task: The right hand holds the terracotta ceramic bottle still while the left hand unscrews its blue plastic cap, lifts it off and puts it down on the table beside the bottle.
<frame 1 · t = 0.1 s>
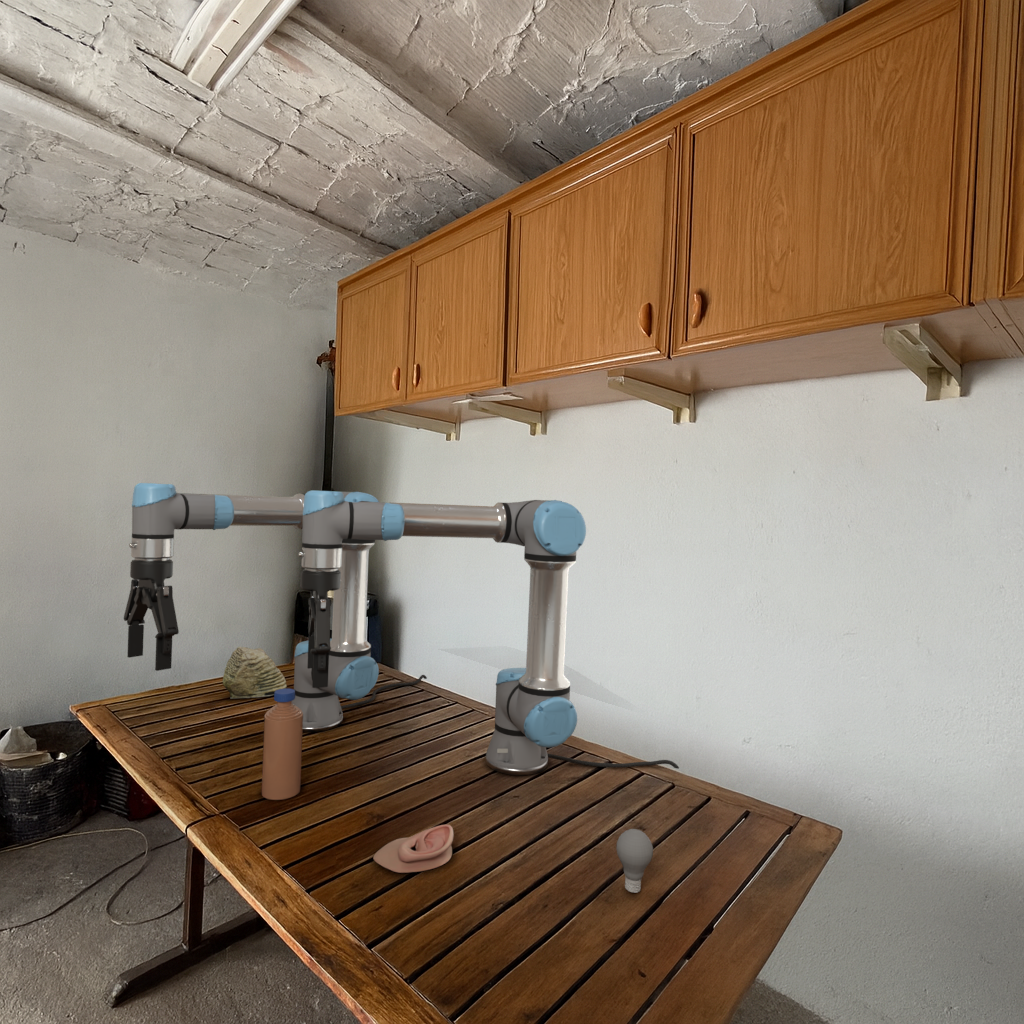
left hand: (148, 662, 129), 28 cm above the table, tool pointing down, fingers open, 13 cm apart
right hand: (317, 677, 124), 28 cm above the table, tool pointing down, fingers open, 13 cm apart
cap: (284, 692, 135), point 21 cm above the table, screwed on, not yet turned
bottle: (281, 791, 135), on the table
light bulb: (632, 891, 106), on the table
fossil: (254, 694, 198), on the table
anatomical model: (413, 856, 113), on the table
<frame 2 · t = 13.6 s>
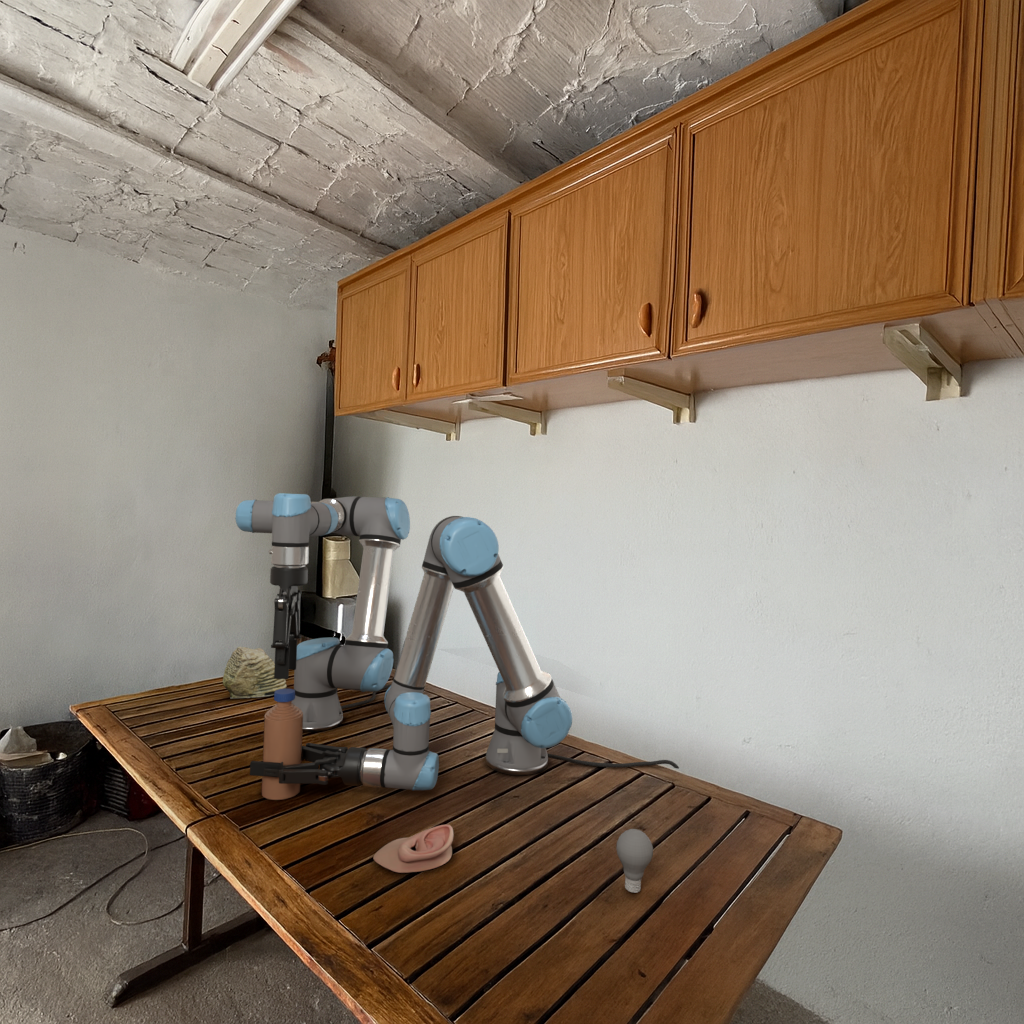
left hand: (285, 673, 135), 25 cm above the table, tool pointing down, fingers open, 6 cm apart
right hand: (260, 759, 136), 7 cm above the table, tool horizontal, fingers closed on bottle, 8 cm apart
bottle: (281, 791, 135), on the table, touching right hand
everything else where it was.
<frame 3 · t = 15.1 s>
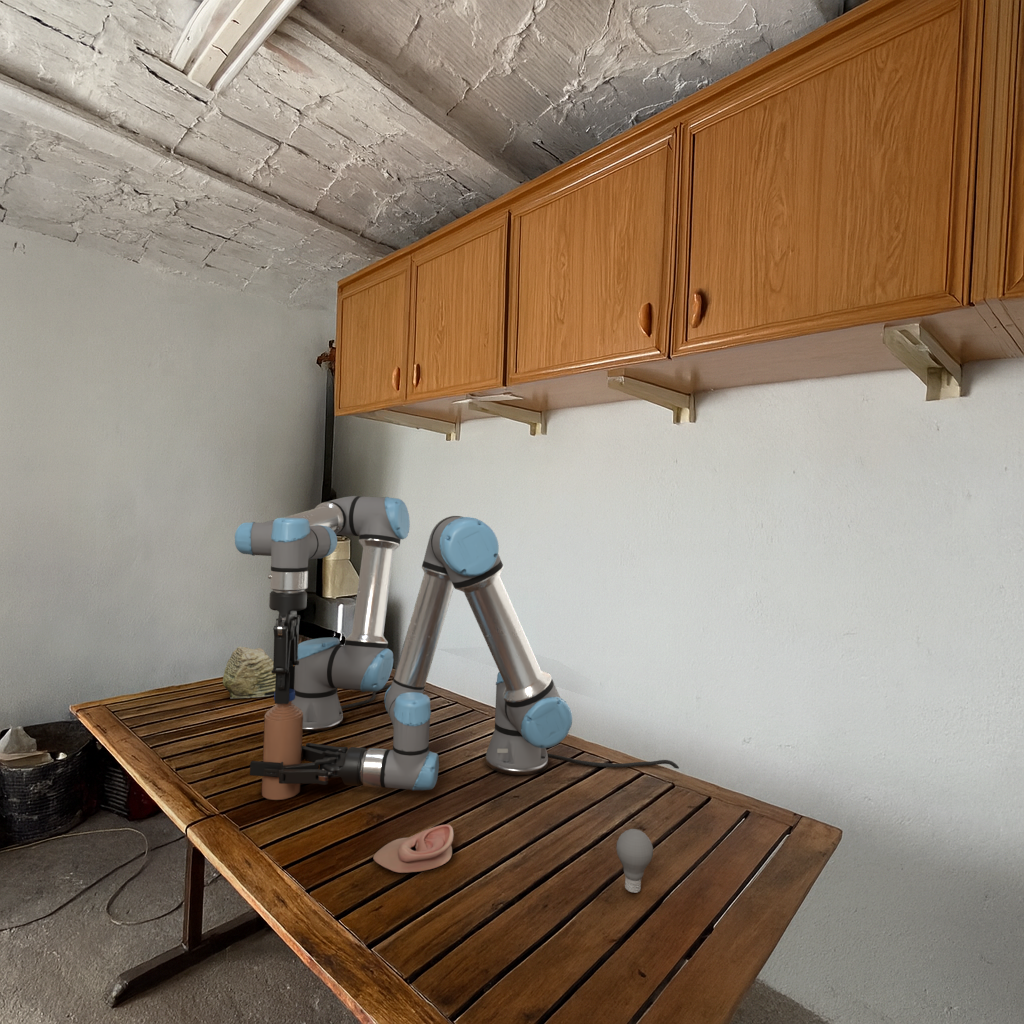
left hand: (284, 699, 135), 20 cm above the table, tool pointing down, fingers closed on cap, 4 cm apart
right hand: (260, 759, 136), 6 cm above the table, tool horizontal, fingers closed on bottle, 8 cm apart
cap: (284, 692, 135), point 21 cm above the table, screwed on, not yet turned, touching left hand
bottle: (281, 791, 135), on the table, touching right hand
everything else where it was.
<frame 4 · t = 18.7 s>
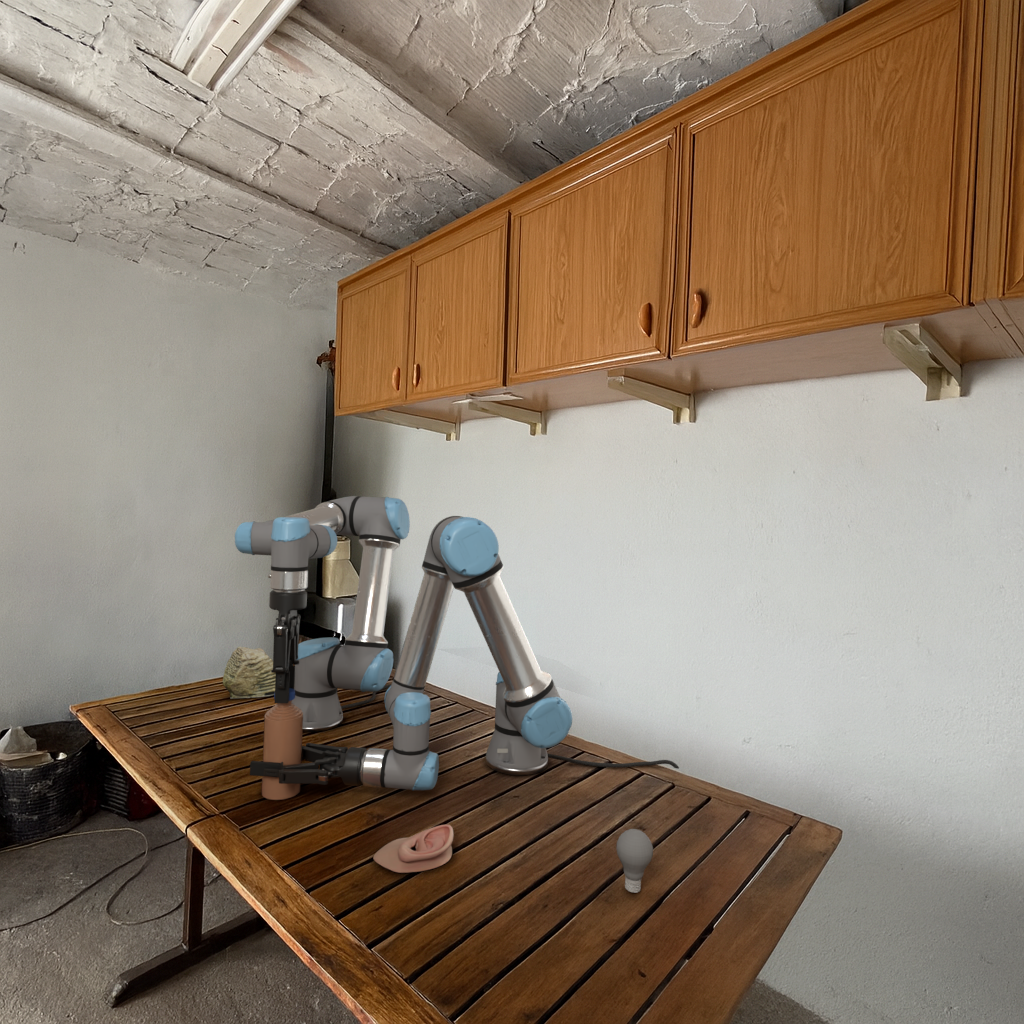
left hand: (284, 698, 135), 20 cm above the table, tool pointing down, fingers closed on cap, 4 cm apart
right hand: (260, 759, 136), 6 cm above the table, tool horizontal, fingers closed on bottle, 8 cm apart
cap: (284, 692, 135), point 21 cm above the table, turned 138° so far, risen 0.1 cm, still on its thread, touching left hand
bottle: (281, 791, 135), on the table, touching right hand
everything else where it was.
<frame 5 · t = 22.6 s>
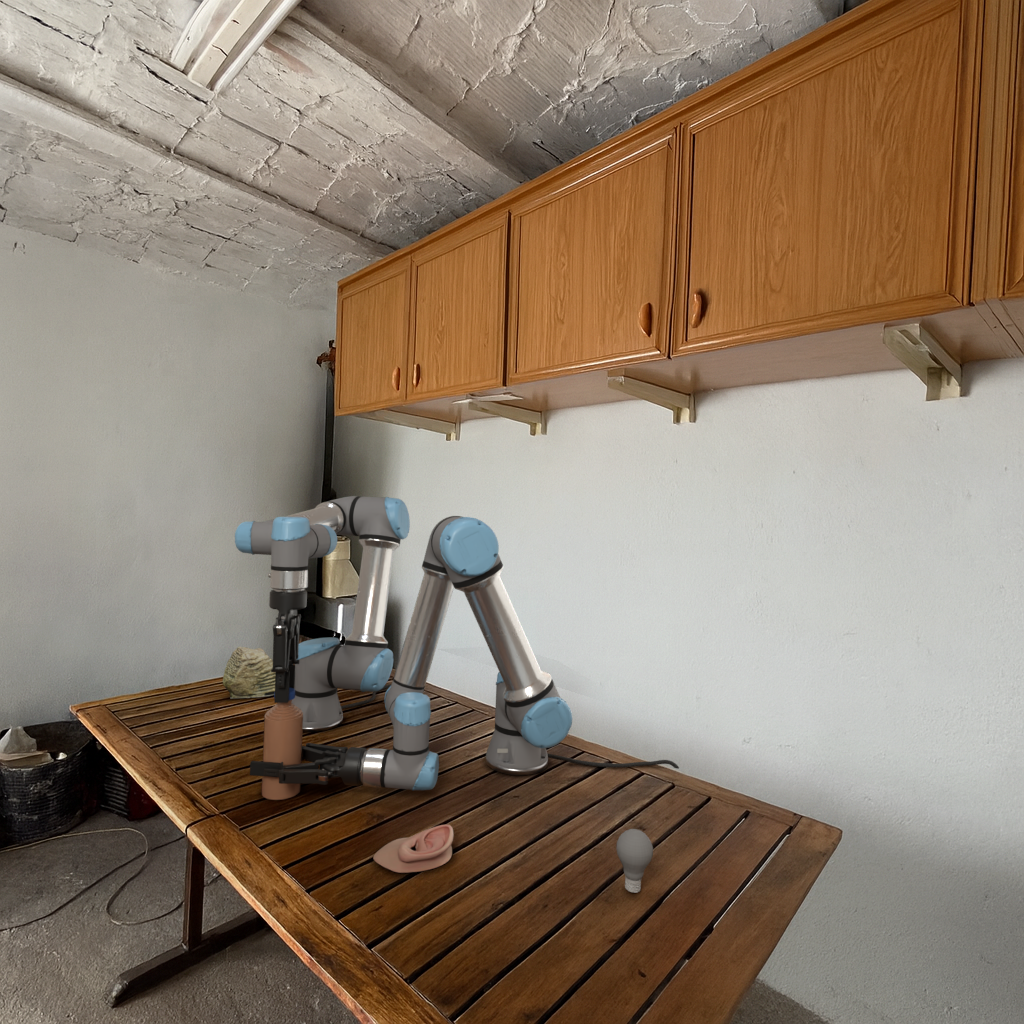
left hand: (284, 698, 135), 20 cm above the table, tool pointing down, fingers closed on cap, 4 cm apart
right hand: (260, 759, 136), 6 cm above the table, tool horizontal, fingers closed on bottle, 8 cm apart
cap: (284, 691, 135), point 21 cm above the table, turned 275° so far, risen 0.2 cm, still on its thread, touching left hand
bottle: (281, 791, 135), on the table, touching right hand
everything else where it was.
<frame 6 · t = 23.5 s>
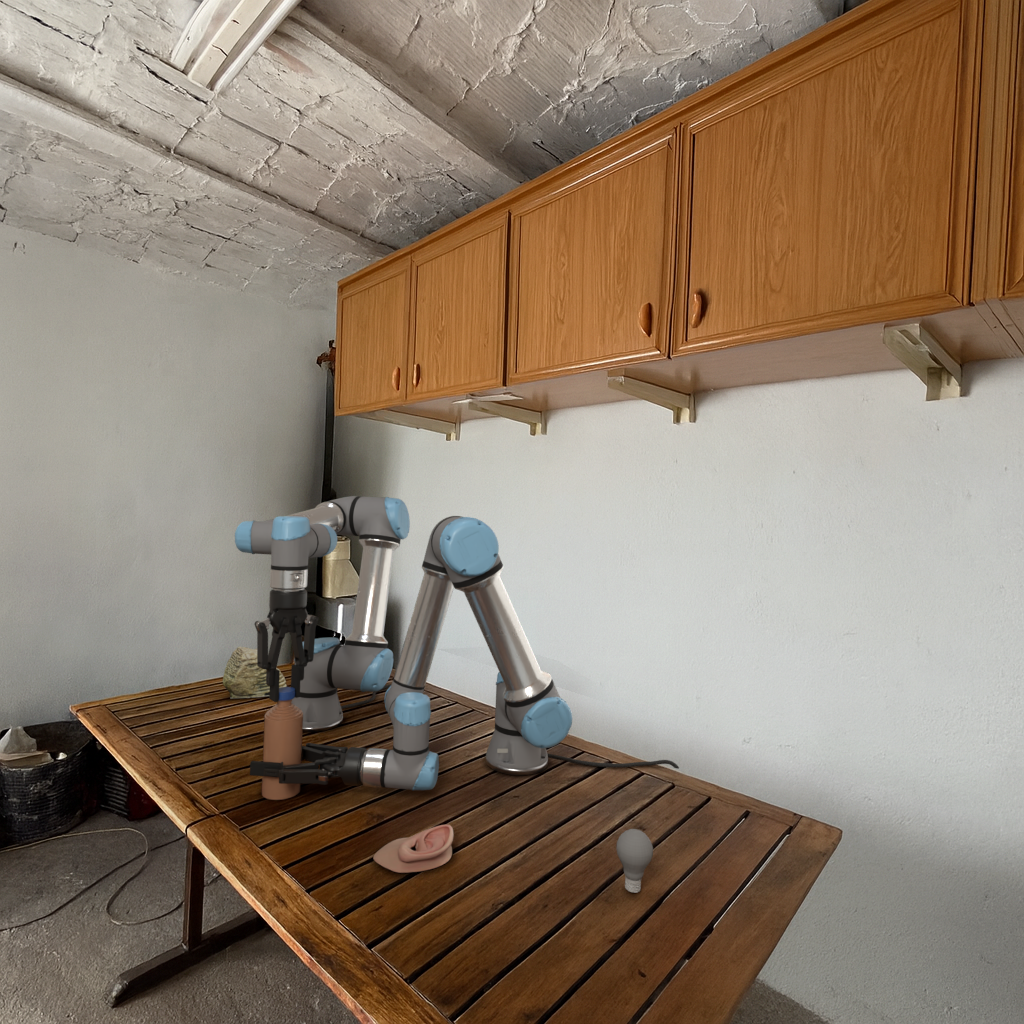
left hand: (284, 697, 135), 20 cm above the table, tool pointing down, fingers closed on cap, 4 cm apart
right hand: (260, 759, 136), 6 cm above the table, tool horizontal, fingers closed on bottle, 8 cm apart
cap: (284, 691, 135), point 22 cm above the table, off its thread, touching left hand
bottle: (281, 791, 135), on the table, touching right hand
everything else where it was.
when the left hand's fingers open (1 cm above the table, at t = 29.5 s): cap drops 1 cm, point 1 cm above the table.
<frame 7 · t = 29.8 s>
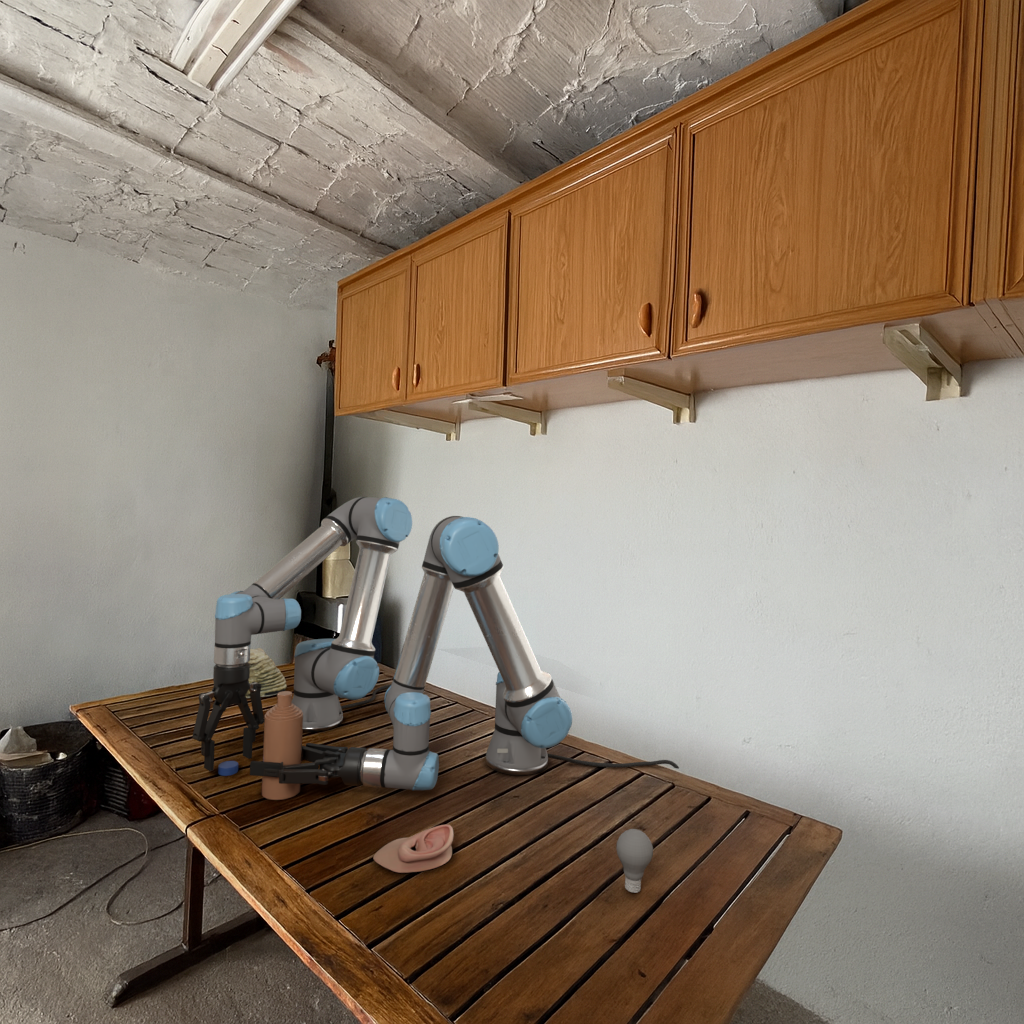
left hand: (228, 762, 144), 2 cm above the table, tool pointing down, fingers open, 8 cm apart
right hand: (260, 759, 136), 7 cm above the table, tool horizontal, fingers closed on bottle, 8 cm apart
cap: (228, 765, 144), point 1 cm above the table, off its thread
bottle: (281, 791, 135), on the table, touching right hand
everything else where it was.
when the right hand's fingers open (7 cm above the table, at t = 30.8 s): bottle stays where it is, on the table.
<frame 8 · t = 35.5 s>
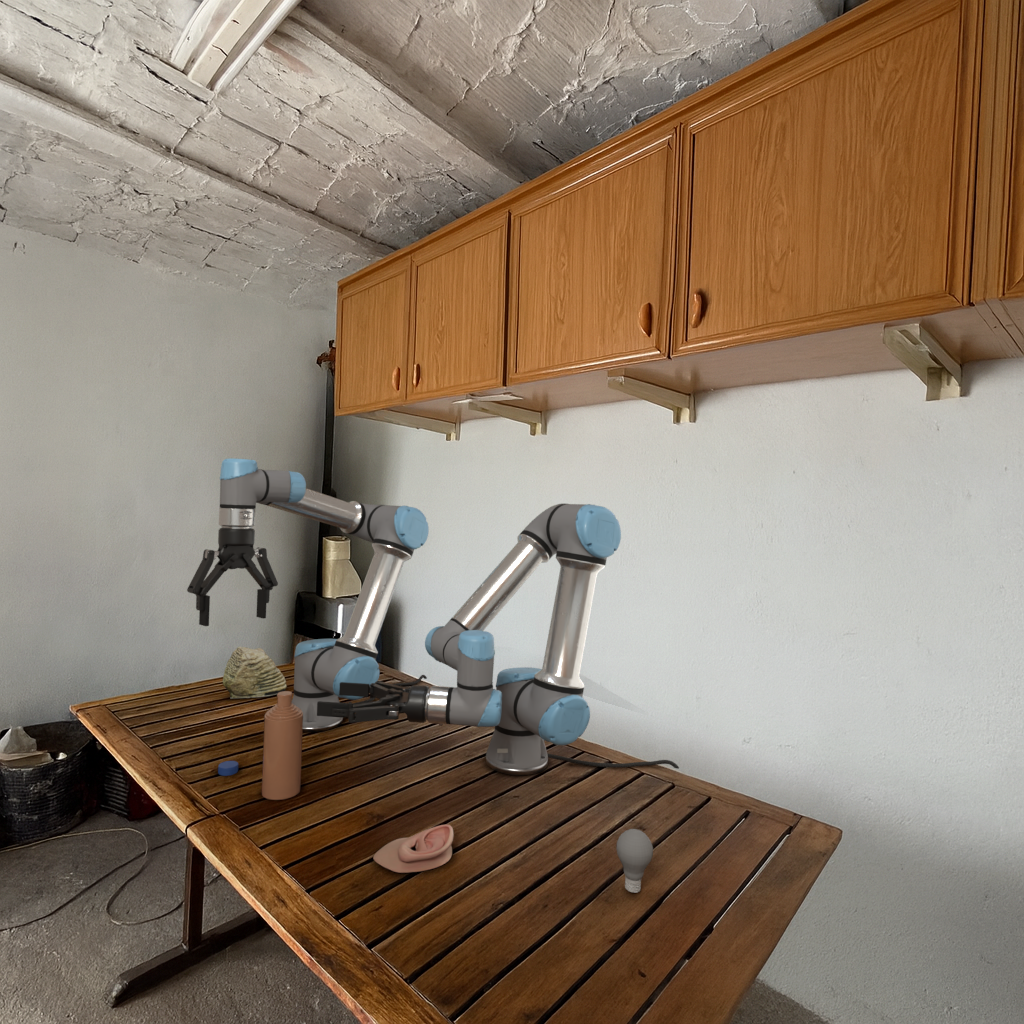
left hand: (233, 621, 143), 34 cm above the table, tool pointing down, fingers open, 13 cm apart
right hand: (329, 698, 134), 21 cm above the table, tool horizontal, fingers open, 13 cm apart
bottle: (281, 791, 135), on the table
everything else where it was.
at the end: cap came off its thread; cap point 1.4 cm above the table; the left hand is holding nothing; the right hand is holding nothing; bottle tilted 0°; bottle moved 0.0 cm from its start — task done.
